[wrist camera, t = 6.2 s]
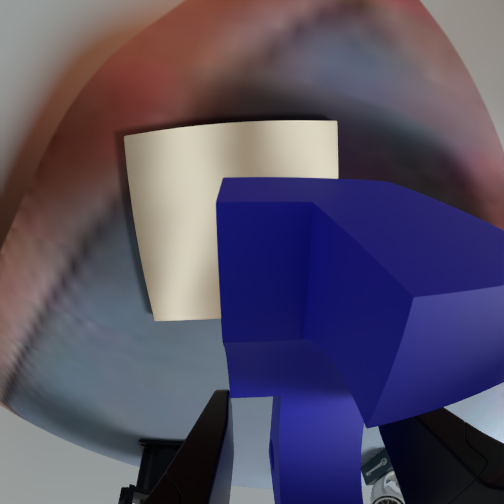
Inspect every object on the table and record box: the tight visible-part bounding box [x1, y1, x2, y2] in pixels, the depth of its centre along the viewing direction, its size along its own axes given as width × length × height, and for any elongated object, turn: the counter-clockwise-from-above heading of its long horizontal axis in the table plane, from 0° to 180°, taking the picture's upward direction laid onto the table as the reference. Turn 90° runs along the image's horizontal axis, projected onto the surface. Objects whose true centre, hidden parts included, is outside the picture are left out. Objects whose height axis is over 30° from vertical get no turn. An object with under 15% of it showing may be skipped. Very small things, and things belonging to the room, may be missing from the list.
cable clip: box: [216, 177, 504, 504], centre depth 7 cm, size 12×4×6 cm, turn 0°
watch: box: [361, 448, 405, 504], centre depth 25 cm, size 6×8×11 cm
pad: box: [124, 120, 338, 321], centre depth 18 cm, size 12×12×1 cm
